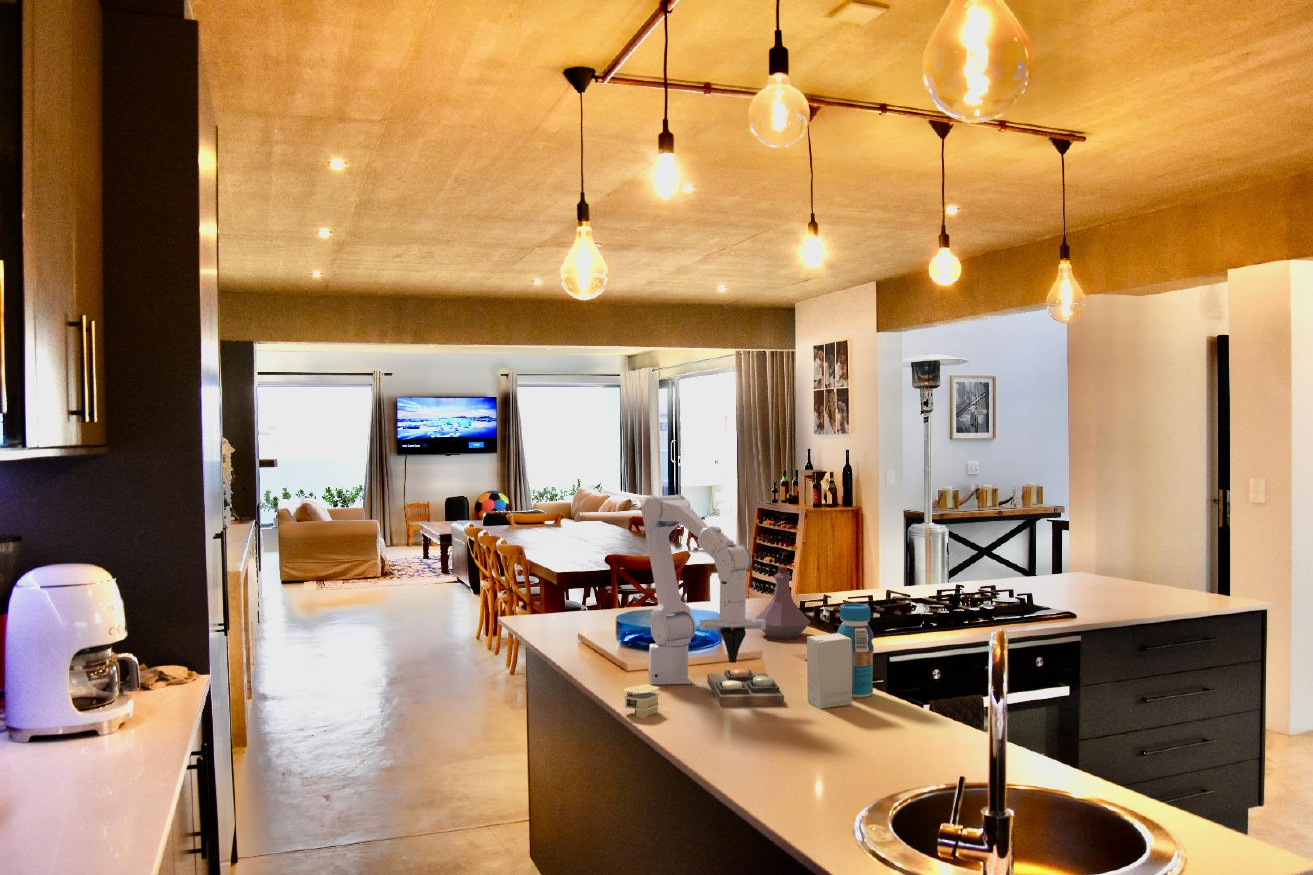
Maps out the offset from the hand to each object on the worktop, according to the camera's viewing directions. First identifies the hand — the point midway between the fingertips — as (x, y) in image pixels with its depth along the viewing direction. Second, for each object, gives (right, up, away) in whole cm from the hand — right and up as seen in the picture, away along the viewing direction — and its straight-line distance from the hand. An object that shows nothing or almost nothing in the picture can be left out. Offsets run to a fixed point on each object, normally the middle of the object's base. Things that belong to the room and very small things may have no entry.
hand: (732, 661), depth 218 cm
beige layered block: (-20, -9, -11) cm, 25 cm away
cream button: (0, -7, 0) cm, 7 cm away
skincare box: (+21, -9, -4) cm, 23 cm away
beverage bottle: (+28, -9, +5) cm, 30 cm away
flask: (+20, -8, +67) cm, 71 cm away
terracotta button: (+3, -7, +11) cm, 13 cm away
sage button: (+7, -6, +1) cm, 9 cm away
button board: (+3, -8, +5) cm, 10 cm away
